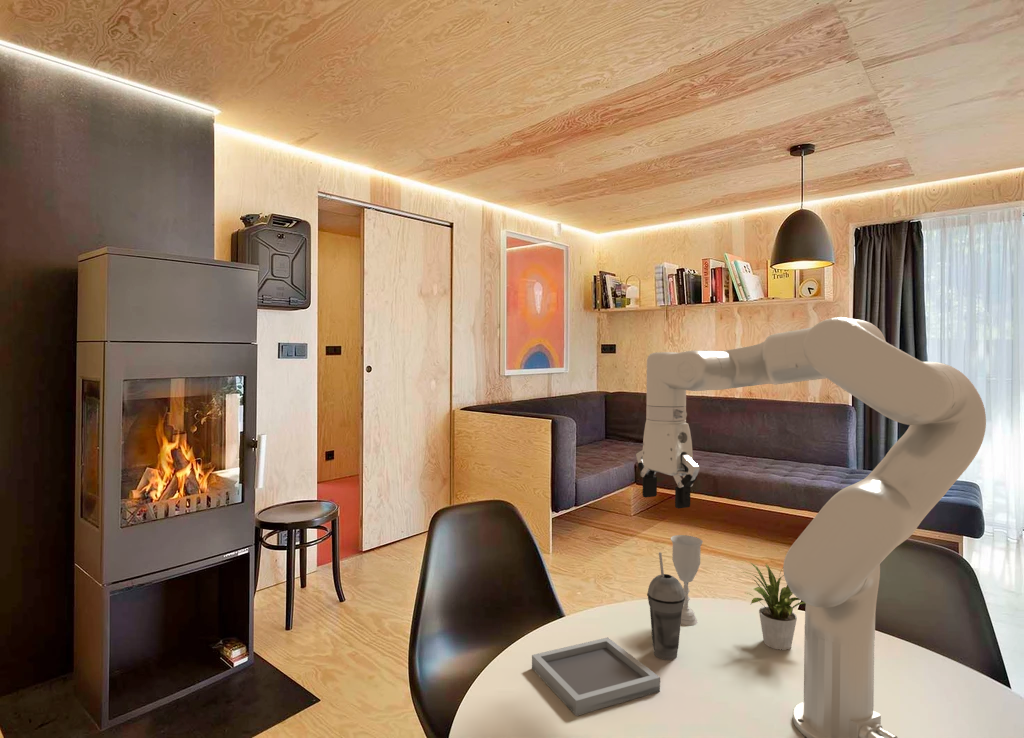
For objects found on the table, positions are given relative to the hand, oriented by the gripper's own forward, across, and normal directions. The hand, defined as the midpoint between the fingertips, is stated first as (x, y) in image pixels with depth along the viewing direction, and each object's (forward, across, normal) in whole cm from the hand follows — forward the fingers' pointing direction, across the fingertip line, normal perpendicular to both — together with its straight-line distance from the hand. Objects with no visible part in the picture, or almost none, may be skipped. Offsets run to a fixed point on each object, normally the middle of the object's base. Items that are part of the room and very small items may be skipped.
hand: (665, 501), depth 113 cm
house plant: (+30, -5, -23) cm, 39 cm away
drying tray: (+30, -2, +18) cm, 35 cm away
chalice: (+30, +10, -14) cm, 35 cm away
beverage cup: (+30, 0, 0) cm, 30 cm away
